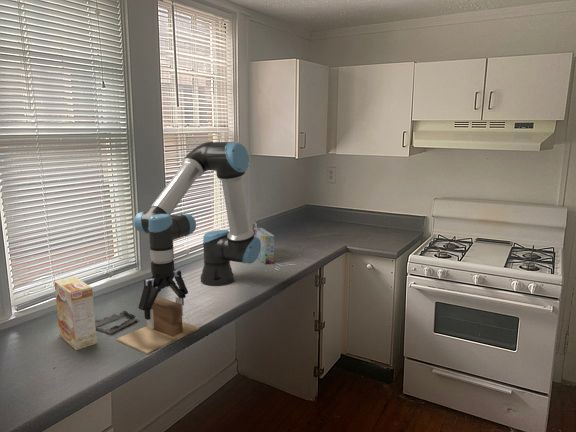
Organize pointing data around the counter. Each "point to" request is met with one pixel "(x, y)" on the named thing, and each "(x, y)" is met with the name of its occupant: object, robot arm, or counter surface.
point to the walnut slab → (167, 316)
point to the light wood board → (153, 338)
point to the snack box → (265, 245)
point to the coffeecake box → (75, 312)
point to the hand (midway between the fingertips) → (165, 321)
